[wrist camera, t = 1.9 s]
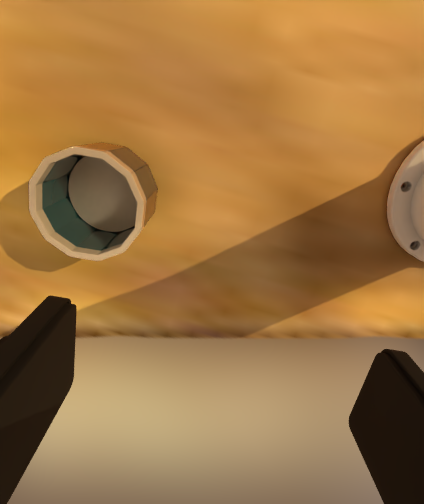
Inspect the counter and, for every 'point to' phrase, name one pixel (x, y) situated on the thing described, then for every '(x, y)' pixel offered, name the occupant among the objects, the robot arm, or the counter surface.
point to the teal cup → (92, 199)
